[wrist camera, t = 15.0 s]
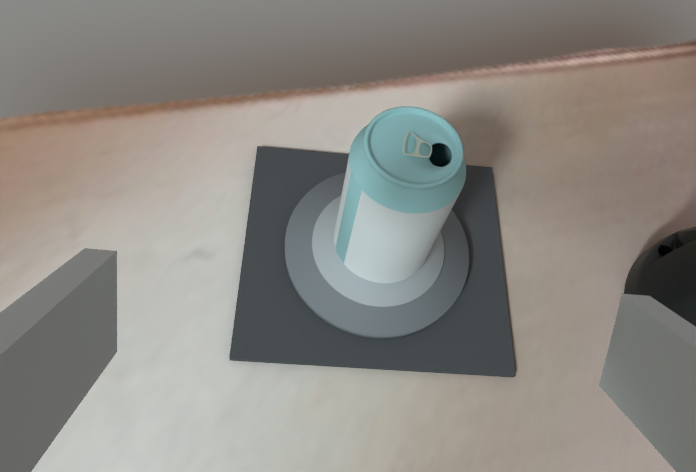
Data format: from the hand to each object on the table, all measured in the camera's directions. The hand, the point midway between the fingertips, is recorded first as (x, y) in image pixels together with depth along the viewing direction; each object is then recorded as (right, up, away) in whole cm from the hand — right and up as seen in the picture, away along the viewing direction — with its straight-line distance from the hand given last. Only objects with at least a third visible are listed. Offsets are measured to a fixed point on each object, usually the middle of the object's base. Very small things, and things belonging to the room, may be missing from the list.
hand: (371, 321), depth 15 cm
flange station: (+1, +1, +30) cm, 30 cm away
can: (+2, +1, +28) cm, 28 cm away
